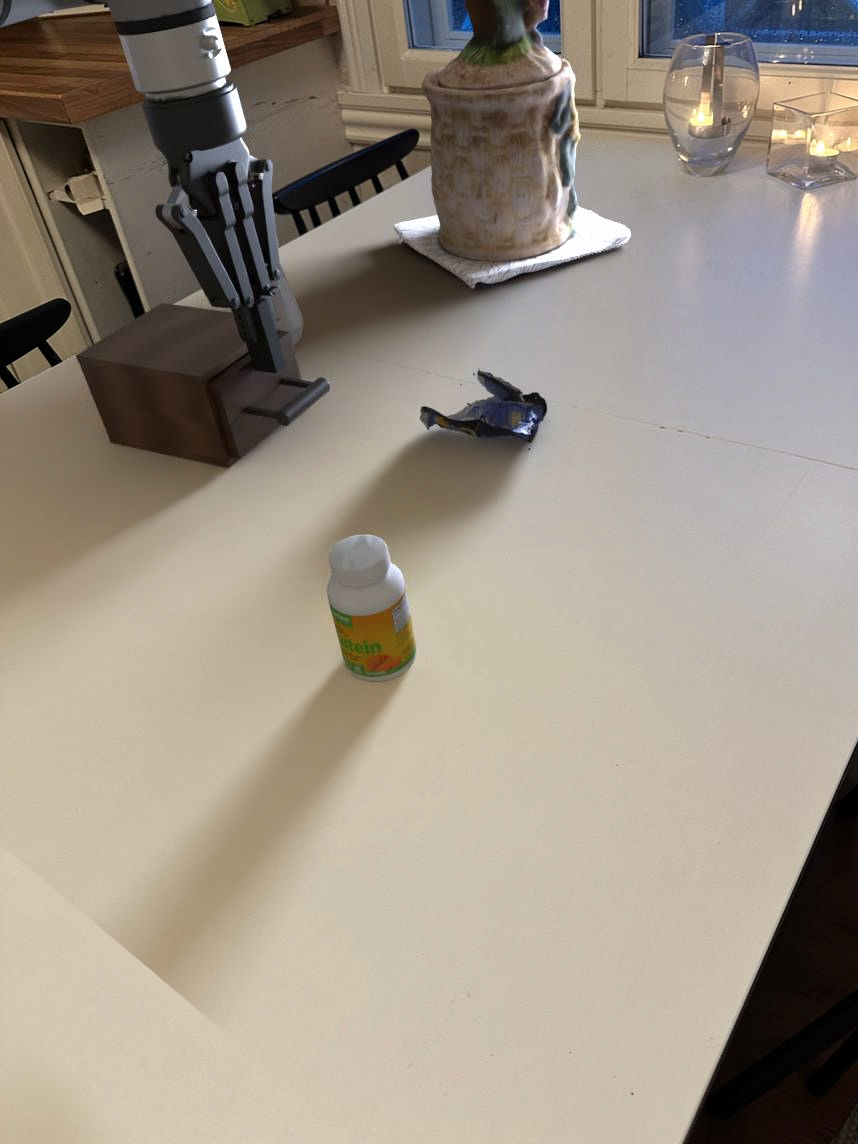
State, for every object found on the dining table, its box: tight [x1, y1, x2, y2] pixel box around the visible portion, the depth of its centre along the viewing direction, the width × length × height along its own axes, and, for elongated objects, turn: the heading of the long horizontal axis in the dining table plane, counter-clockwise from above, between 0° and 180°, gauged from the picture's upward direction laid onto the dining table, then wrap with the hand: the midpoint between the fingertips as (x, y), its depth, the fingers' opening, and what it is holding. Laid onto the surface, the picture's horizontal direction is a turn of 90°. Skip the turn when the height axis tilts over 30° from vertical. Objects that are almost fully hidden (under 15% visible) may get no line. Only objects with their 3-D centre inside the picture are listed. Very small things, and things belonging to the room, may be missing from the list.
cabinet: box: [75, 302, 284, 469], centre depth 96 cm, size 16×13×10 cm
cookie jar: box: [393, 0, 631, 289], centre depth 120 cm, size 25×25×32 cm
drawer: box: [208, 331, 331, 460], centre depth 95 cm, size 20×11×8 cm, turn 63°
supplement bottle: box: [326, 534, 418, 682], centre depth 67 cm, size 5×5×10 cm
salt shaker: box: [265, 237, 304, 346], centre depth 109 cm, size 6×6×13 cm
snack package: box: [419, 369, 548, 451], centre depth 92 cm, size 12×6×12 cm
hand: (270, 368), depth 90 cm, fingers closed
